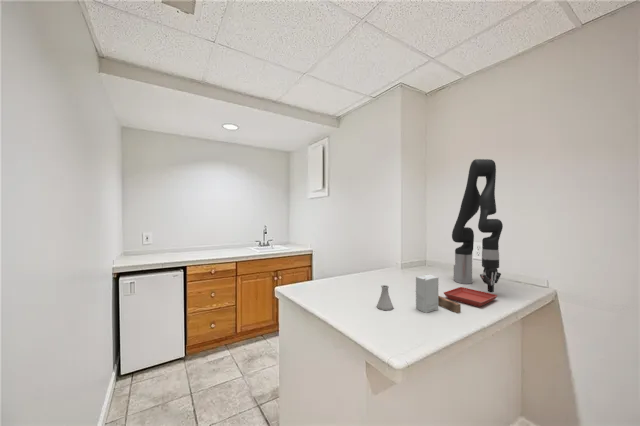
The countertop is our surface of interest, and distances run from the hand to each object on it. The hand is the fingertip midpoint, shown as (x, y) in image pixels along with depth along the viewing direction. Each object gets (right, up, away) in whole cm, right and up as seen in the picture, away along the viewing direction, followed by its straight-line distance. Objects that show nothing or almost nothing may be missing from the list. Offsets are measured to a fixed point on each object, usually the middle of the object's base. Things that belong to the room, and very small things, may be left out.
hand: (490, 291), depth 137 cm
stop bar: (-31, -3, -12) cm, 33 cm away
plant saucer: (-13, -3, -5) cm, 14 cm away
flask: (-58, -3, -15) cm, 59 cm away
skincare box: (-39, -3, -17) cm, 43 cm away
